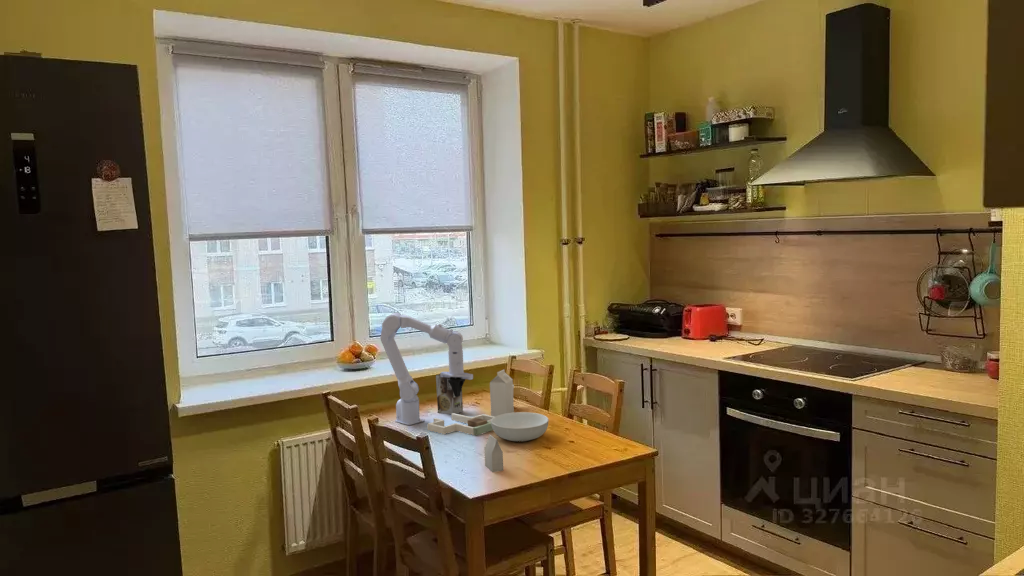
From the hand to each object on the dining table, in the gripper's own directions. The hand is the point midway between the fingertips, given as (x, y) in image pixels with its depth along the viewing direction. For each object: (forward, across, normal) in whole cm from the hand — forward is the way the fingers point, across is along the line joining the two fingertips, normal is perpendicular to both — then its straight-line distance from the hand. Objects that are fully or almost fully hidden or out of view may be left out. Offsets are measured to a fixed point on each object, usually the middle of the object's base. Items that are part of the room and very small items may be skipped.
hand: (457, 396), depth 282 cm
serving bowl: (+10, +35, -10) cm, 37 cm away
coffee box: (+10, -11, +10) cm, 18 cm away
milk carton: (+10, +14, +11) cm, 20 cm away
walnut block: (+10, +15, -8) cm, 20 cm away
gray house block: (+10, +44, -42) cm, 61 cm away
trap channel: (+10, +8, -7) cm, 14 cm away
